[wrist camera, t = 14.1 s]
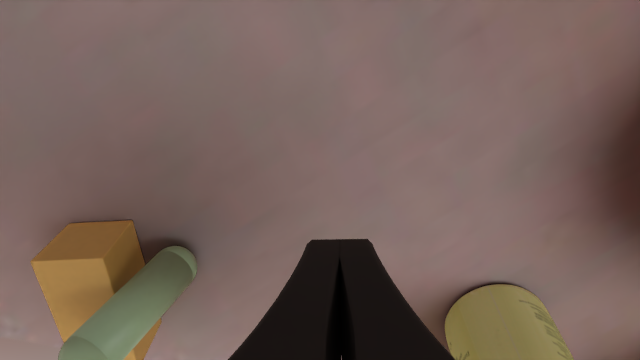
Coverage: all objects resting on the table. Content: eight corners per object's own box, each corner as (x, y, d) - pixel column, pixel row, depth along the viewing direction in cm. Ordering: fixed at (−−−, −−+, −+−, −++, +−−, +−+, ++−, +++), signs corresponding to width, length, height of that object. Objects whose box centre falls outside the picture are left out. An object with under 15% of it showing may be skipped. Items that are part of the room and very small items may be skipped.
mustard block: (104, 324, 24) (74, 370, 21) (68, 222, 21) (29, 261, 18) (162, 321, 23) (139, 369, 21) (132, 219, 21) (102, 258, 18)
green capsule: (62, 331, 20) (75, 409, 16) (40, 296, 19) (49, 370, 15) (194, 265, 22) (233, 319, 18) (181, 231, 21) (219, 280, 18)
